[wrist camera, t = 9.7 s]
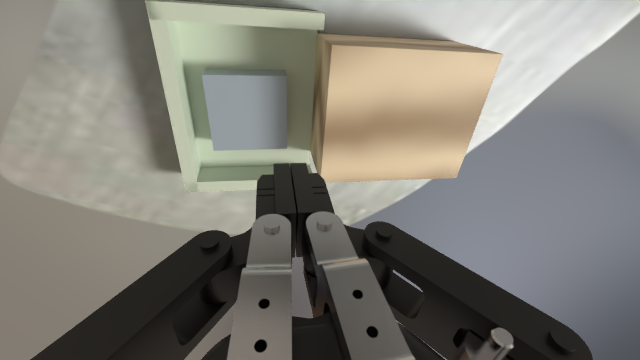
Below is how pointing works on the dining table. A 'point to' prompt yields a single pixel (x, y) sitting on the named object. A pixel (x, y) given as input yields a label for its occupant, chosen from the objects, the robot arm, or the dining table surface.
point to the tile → (246, 108)
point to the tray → (232, 53)
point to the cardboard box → (396, 106)
